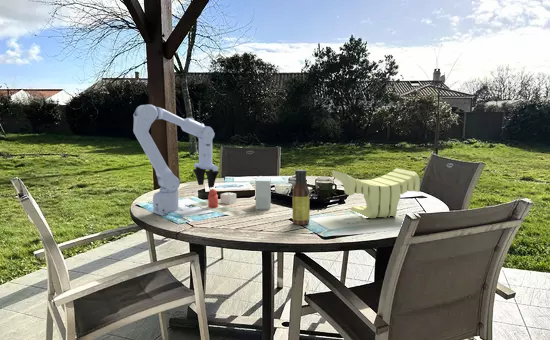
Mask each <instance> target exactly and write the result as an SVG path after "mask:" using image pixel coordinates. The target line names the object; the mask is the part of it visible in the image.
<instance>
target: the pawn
mask: <svg viewBox="0 0 550 340" xmlns="http://www.w3.org/2000/svg"><path fill="white" fill-rule="evenodd" d="M208 192H209V193H208V195H207V202H208V205H207V206H208V207H210V208H216V207H218V204H219V198H218V197H219V195H218V194H217V193H218V192H217V190H216V189H214V188H211V189H210V190H209V191H208ZM216 209H217V208H216Z"/></svg>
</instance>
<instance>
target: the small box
mask: <svg viewBox="0 0 550 340" xmlns="http://www.w3.org/2000/svg"><path fill="white" fill-rule="evenodd" d="M271 185H272V183H271V178H270V177H256V178H255V210H271V208H272V207H271V205H272V204H271V203H272V199H271V196H272V193H271V190H272V189H271V187H272V186H271Z"/></svg>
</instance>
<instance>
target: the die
mask: <svg viewBox="0 0 550 340" xmlns="http://www.w3.org/2000/svg"><path fill="white" fill-rule="evenodd" d="M235 203H237V193H234V192H224V193H220V204H226V205H231V204H235Z"/></svg>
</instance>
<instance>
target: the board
mask: <svg viewBox="0 0 550 340" xmlns="http://www.w3.org/2000/svg"><path fill="white" fill-rule="evenodd" d="M188 206H192V207H191V208H193V207H200V208H202V209H205V210H209V211H213V212H216V213H220V214H223V215H226V216H229V217H234V216H238V215H242V214H247V213H248V212H247V211H245V210H241V209H237V208H233V207H229V206H225V205H222V204H219V203H218V207H216V208H210V207H208V200H207V201H201V202H196V203H192V204H191V203H190V204H189V205H188Z"/></svg>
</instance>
